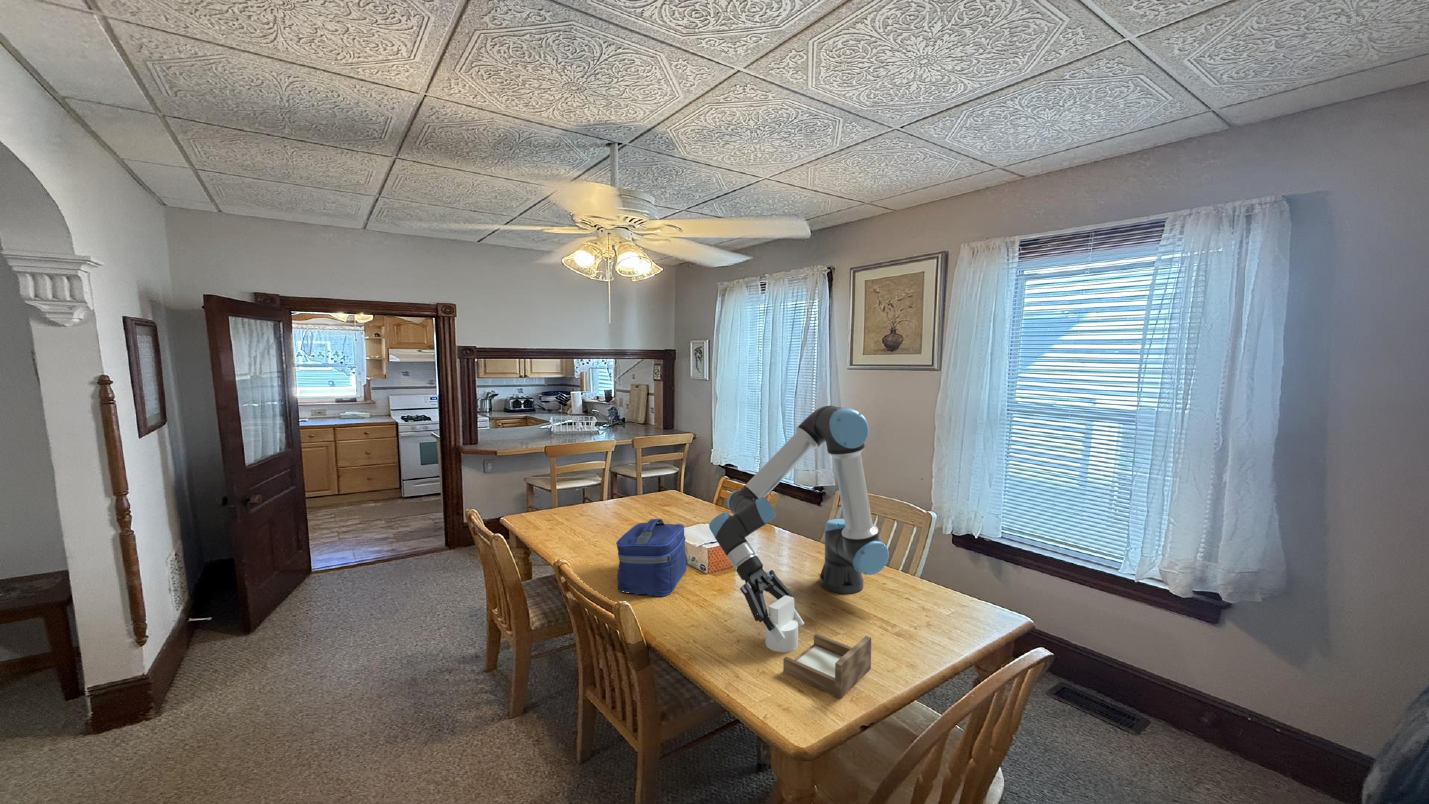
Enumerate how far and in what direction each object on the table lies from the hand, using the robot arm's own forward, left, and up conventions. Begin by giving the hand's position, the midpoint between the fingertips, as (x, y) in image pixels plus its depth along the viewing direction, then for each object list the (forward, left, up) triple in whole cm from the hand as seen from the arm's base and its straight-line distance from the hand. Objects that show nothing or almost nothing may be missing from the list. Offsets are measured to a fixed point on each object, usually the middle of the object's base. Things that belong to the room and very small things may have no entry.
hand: (791, 632), depth 143 cm
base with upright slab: (0, -3, -4) cm, 6 cm away
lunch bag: (-6, -63, -5) cm, 63 cm away
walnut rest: (+3, +13, -4) cm, 14 cm away
